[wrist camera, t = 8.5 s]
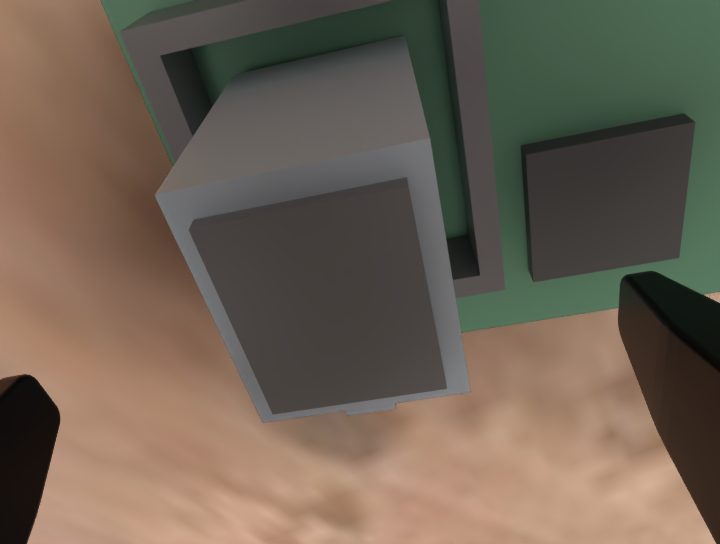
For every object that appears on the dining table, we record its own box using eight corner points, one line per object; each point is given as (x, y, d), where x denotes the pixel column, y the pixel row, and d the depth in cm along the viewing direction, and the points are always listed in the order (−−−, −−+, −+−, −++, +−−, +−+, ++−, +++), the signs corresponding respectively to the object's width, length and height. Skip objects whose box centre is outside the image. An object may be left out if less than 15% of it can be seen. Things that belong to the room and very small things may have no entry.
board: (902, -475, 10) (1088, -596, 7) (750, 265, 18) (811, 327, 16) (33, -206, 12) (-58, -229, 9) (264, 344, 20) (249, 410, 18)
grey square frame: (459, -65, 12) (474, -56, 10) (491, 248, 17) (505, 290, 15) (150, 11, 13) (118, 31, 11) (260, 289, 17) (248, 332, 16)
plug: (404, 35, 13) (432, 147, 7) (440, 248, 16) (477, 429, 11) (233, 75, 13) (148, 204, 8) (301, 273, 16) (271, 458, 11)
